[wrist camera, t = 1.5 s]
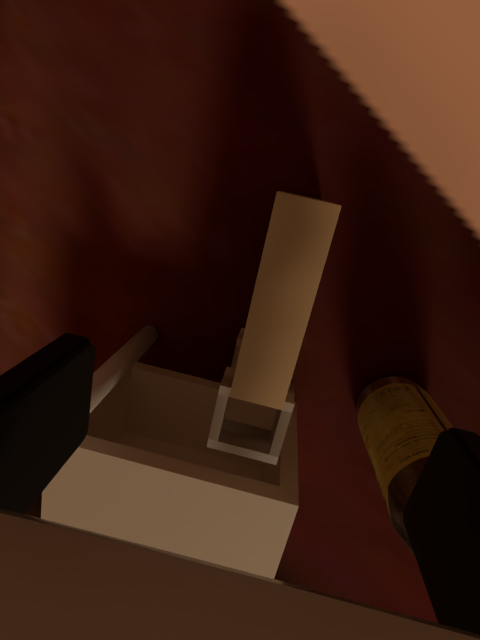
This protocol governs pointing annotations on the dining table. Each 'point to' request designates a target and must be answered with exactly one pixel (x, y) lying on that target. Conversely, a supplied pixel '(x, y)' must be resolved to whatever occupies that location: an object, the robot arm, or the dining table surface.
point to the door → (275, 325)
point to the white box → (175, 469)
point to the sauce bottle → (398, 438)
